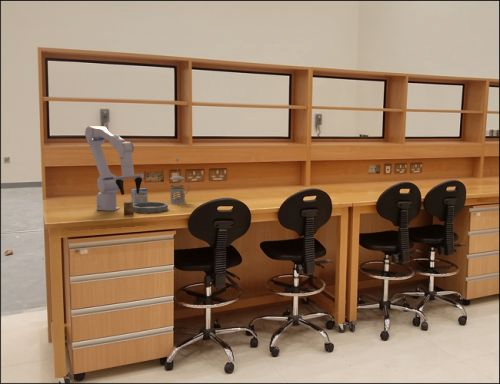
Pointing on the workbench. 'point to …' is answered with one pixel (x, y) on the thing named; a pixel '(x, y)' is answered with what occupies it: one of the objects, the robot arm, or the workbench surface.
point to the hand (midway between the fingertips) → (130, 194)
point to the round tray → (149, 207)
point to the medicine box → (139, 195)
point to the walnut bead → (128, 208)
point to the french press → (177, 188)
